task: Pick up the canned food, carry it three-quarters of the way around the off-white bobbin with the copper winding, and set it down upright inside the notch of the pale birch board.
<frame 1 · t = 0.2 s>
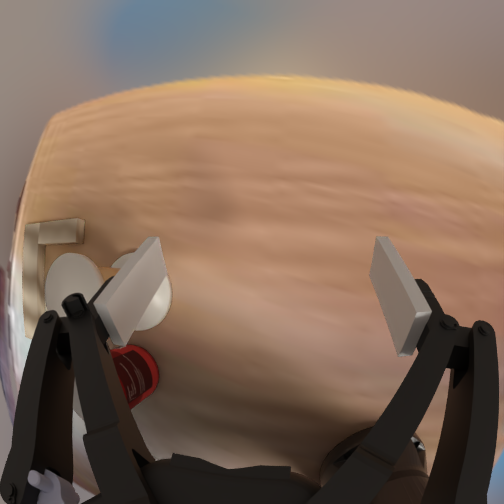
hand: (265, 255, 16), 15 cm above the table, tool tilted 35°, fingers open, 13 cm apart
bobbin: (138, 291, 34), on the table
canned food: (137, 369, 33), on the table
notched board: (52, 284, 37), on the table
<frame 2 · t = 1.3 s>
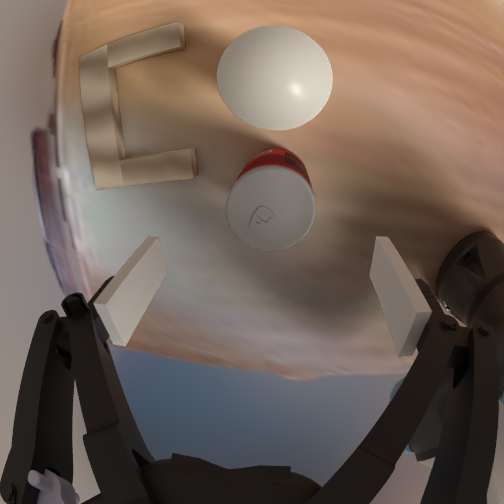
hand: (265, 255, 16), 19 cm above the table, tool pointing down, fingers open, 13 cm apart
bobbin: (278, 88, 27), on the table
canned food: (275, 178, 33), on the table
notched board: (135, 108, 30), on the table
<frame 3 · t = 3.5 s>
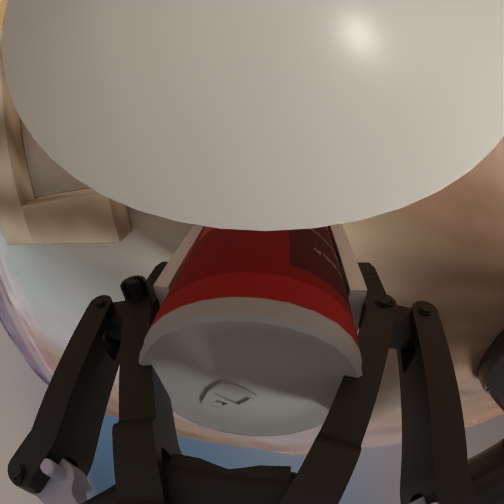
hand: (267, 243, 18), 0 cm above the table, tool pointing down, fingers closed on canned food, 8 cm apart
bobbin: (277, 61, 12), on the table
canned food: (267, 240, 18), on the table, touching gripper
notched board: (37, 118, 15), on the table
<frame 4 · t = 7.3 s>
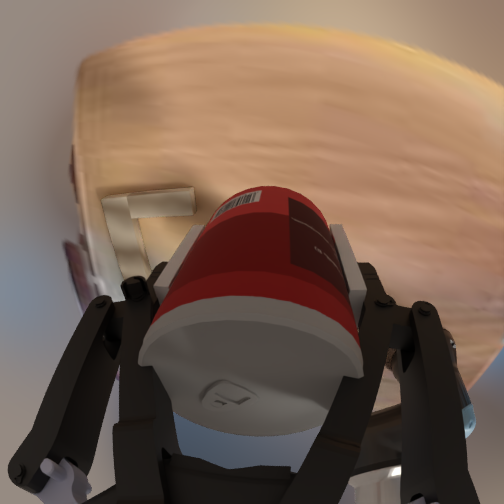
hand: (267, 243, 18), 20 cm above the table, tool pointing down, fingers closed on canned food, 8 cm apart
canned food: (267, 239, 18), point 20 cm above the table, touching gripper
notched board: (159, 251, 43), on the table
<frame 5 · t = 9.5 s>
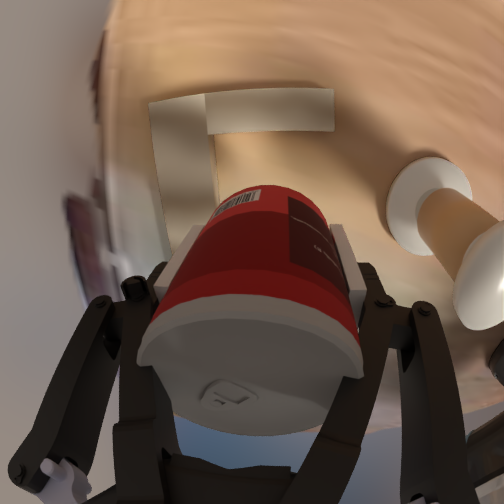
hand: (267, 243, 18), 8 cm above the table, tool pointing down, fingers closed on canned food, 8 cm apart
bobbin: (429, 206, 23), on the table
canned food: (267, 238, 18), point 8 cm above the table, touching gripper
notched board: (246, 201, 25), on the table
when the fingers open (3 cm above the table, at t = 11.1 s): canned food drops 2 cm, on the table.
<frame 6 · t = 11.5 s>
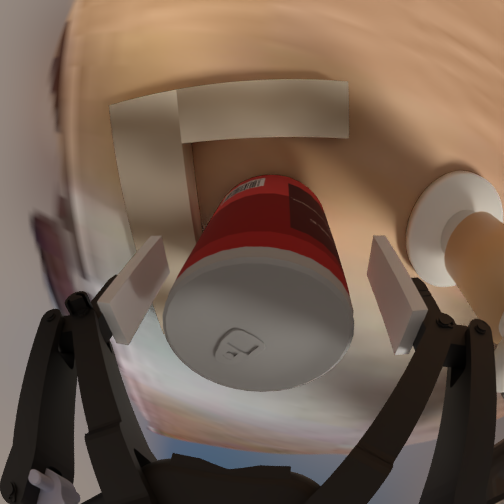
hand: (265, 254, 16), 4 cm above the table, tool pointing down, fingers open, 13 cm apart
bobbin: (456, 229, 18), on the table
canned food: (270, 223, 20), on the table
notched board: (234, 226, 20), on the table
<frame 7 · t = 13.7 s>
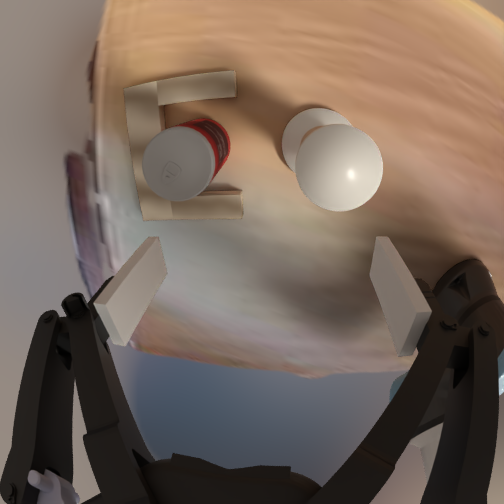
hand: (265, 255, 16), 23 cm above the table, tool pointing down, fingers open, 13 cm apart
bobbin: (319, 144, 34), on the table
canned food: (203, 145, 35), on the table
notched board: (184, 148, 35), on the table
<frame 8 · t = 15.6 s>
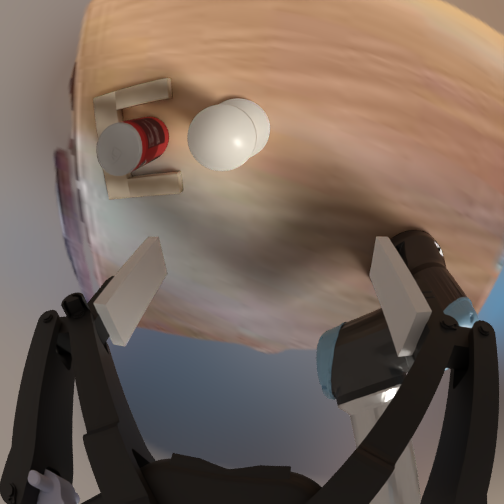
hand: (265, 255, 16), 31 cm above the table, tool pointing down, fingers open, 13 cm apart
bobbin: (238, 128, 41), on the table
canned food: (150, 138, 43), on the table
notched board: (137, 140, 43), on the table
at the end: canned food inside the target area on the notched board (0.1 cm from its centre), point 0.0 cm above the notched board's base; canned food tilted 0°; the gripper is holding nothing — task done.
